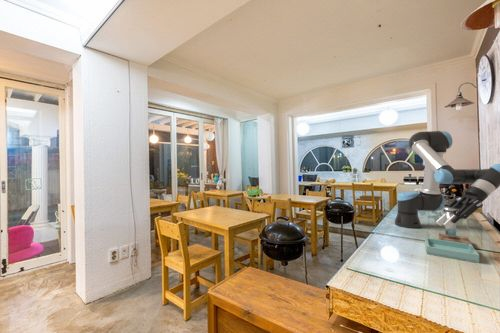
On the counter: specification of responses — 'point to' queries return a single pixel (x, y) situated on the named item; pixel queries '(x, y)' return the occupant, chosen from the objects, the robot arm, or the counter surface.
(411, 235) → the counter surface
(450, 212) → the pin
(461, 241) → the holder
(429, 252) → the tray
